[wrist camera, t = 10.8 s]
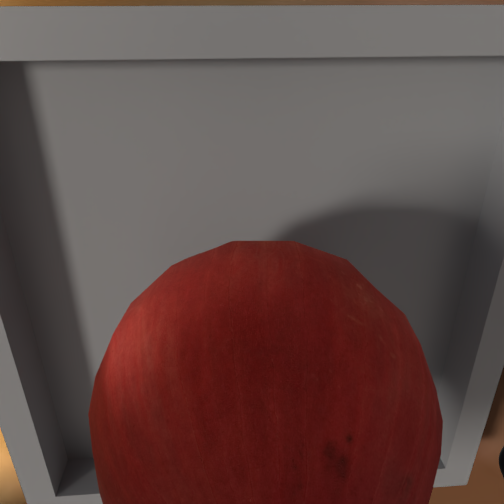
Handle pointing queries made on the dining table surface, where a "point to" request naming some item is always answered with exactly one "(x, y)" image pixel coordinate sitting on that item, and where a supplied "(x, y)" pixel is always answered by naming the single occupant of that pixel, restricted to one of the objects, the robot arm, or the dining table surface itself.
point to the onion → (264, 387)
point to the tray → (242, 187)
